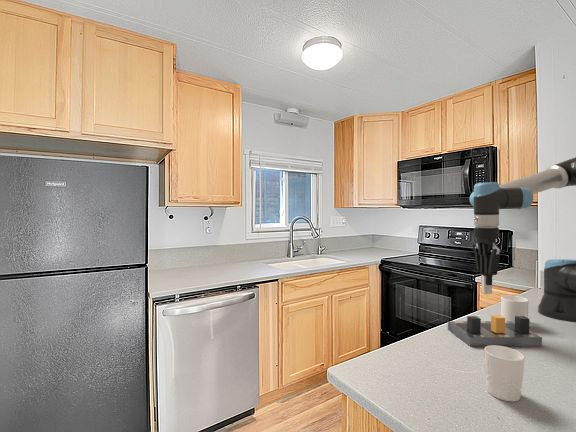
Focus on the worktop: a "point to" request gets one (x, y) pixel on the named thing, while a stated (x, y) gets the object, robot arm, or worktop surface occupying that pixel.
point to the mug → (513, 307)
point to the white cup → (504, 372)
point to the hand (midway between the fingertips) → (486, 293)
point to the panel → (482, 335)
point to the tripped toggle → (497, 324)
